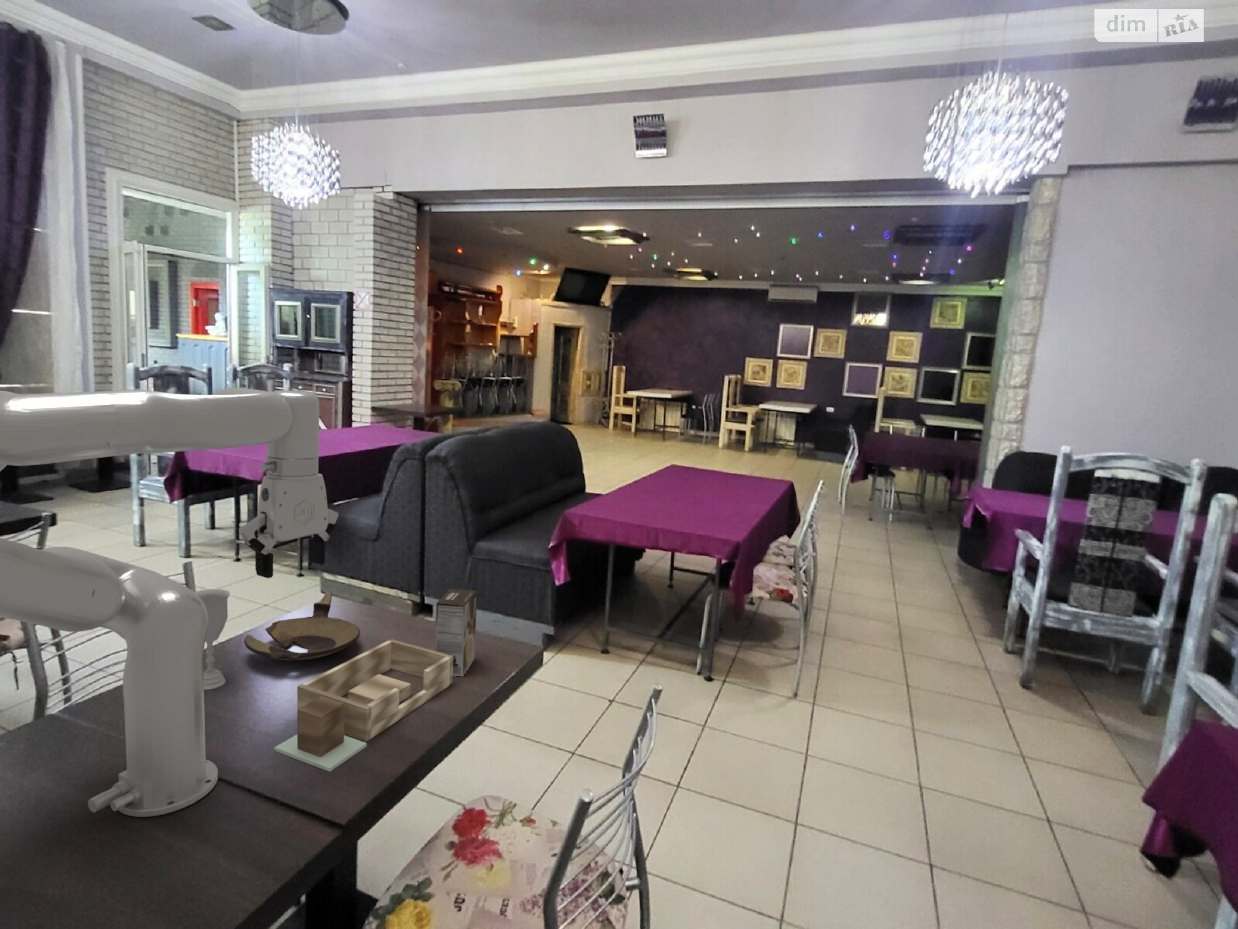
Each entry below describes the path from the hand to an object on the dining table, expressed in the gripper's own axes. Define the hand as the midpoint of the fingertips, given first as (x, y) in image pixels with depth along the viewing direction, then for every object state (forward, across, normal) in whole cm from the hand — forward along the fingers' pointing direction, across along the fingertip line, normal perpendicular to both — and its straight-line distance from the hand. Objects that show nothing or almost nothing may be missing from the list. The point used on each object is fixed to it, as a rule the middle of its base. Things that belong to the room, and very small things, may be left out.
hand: (291, 569), depth 108 cm
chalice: (+30, +4, +28) cm, 41 cm away
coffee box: (+29, +36, -6) cm, 47 cm away
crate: (+29, +17, -3) cm, 34 cm away
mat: (+30, 0, -7) cm, 30 cm away
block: (+29, 0, -7) cm, 30 cm away
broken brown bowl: (+30, +25, +26) cm, 47 cm away
